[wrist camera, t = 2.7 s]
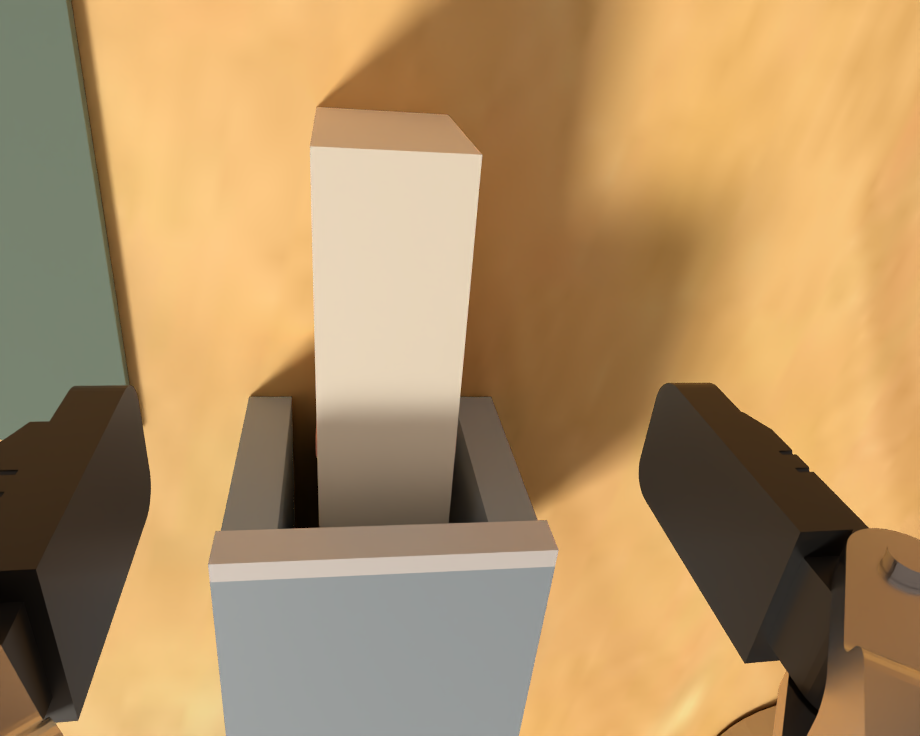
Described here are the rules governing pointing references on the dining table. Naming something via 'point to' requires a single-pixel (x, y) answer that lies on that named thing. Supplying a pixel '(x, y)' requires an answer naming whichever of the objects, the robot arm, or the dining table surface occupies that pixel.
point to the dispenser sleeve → (378, 598)
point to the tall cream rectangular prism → (389, 310)
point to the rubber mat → (50, 223)
